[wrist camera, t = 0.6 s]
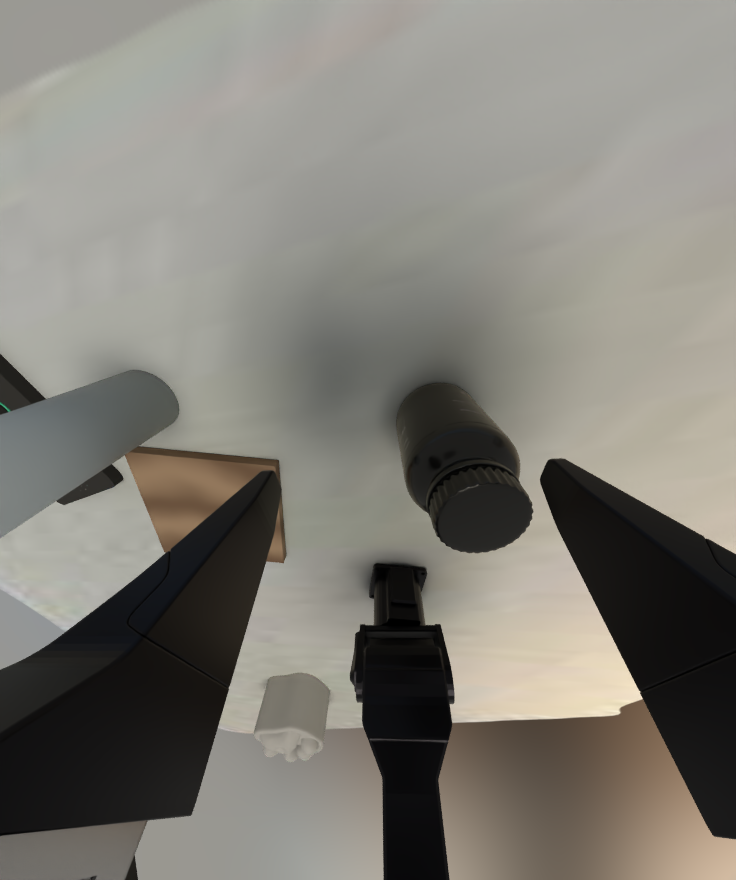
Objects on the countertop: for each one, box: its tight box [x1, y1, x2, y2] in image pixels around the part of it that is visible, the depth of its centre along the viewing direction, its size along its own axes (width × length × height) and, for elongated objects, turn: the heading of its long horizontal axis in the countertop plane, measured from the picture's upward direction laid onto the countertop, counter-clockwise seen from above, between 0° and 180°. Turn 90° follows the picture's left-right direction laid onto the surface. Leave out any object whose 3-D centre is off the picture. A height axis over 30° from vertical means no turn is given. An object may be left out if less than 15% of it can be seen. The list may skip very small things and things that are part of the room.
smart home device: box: [0, 354, 123, 505], centre depth 24 cm, size 8×2×20 cm
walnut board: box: [125, 447, 286, 563], centre depth 29 cm, size 14×14×1 cm
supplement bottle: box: [396, 383, 533, 553], centre depth 18 cm, size 7×7×12 cm
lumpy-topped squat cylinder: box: [254, 673, 330, 762], centre depth 49 cm, size 10×13×9 cm
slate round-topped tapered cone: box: [0, 370, 179, 538], centre depth 18 cm, size 5×5×14 cm
